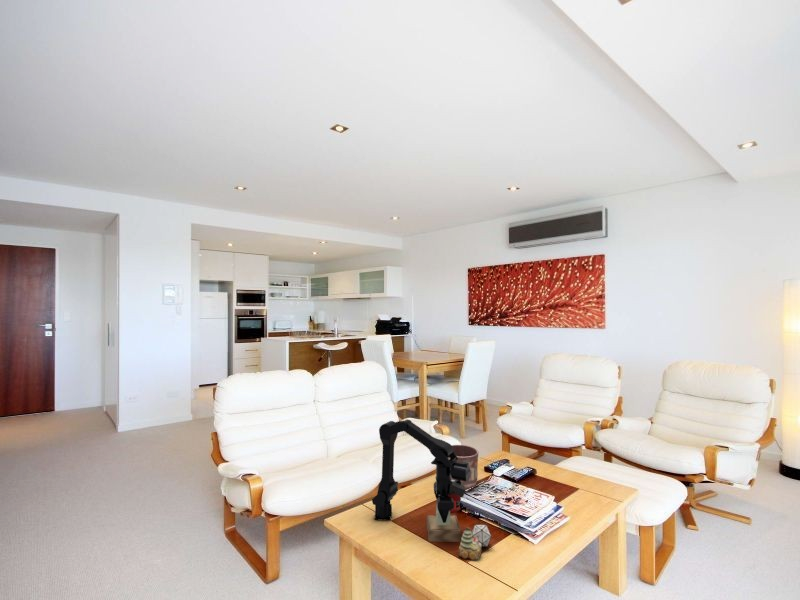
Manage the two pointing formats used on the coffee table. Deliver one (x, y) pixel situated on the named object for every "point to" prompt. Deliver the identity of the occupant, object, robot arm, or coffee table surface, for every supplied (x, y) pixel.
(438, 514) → the sage block
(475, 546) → the ornament
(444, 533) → the pedestal
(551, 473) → the coffee table surface
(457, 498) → the canned food
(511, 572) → the coffee table surface
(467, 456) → the pottery
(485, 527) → the game die
